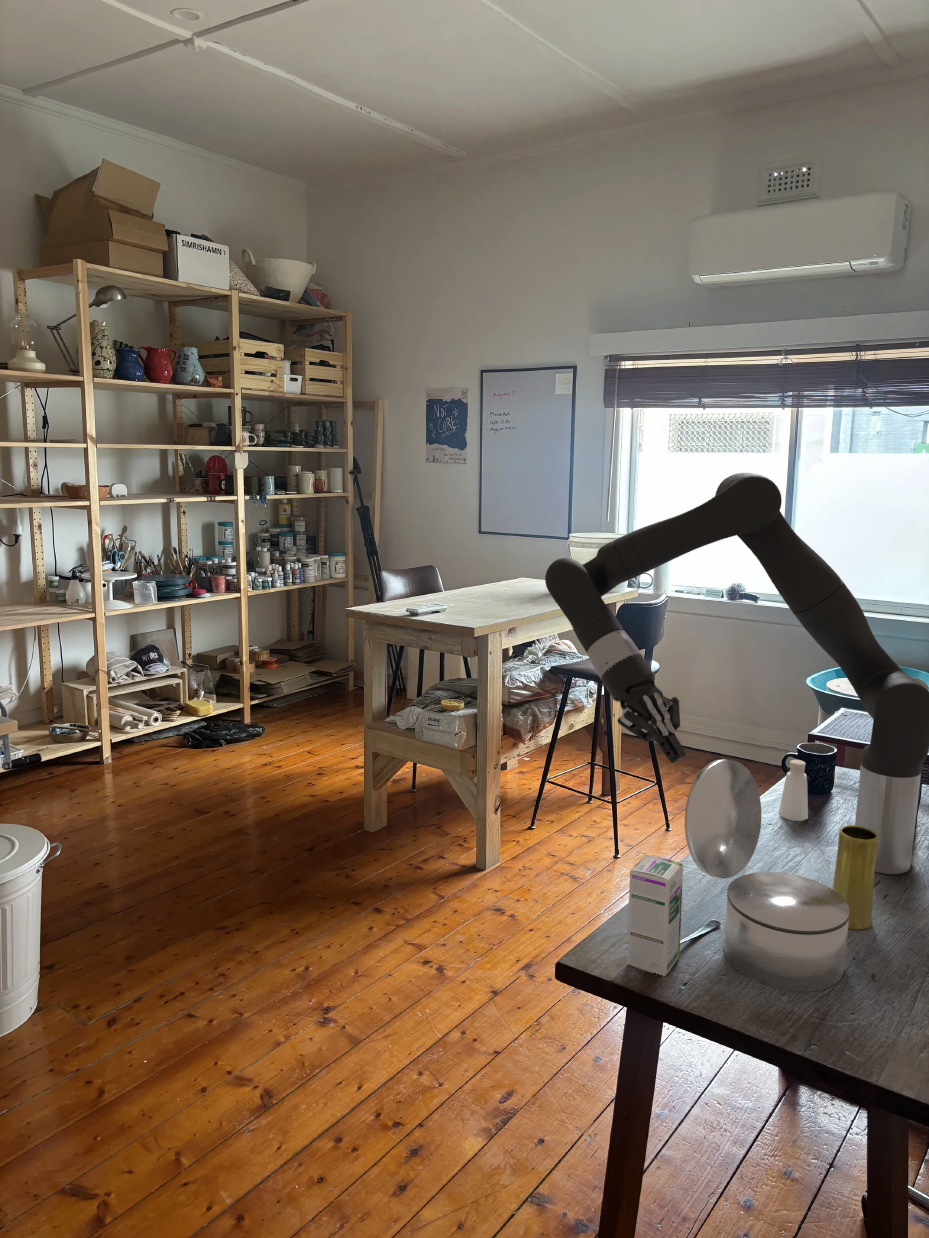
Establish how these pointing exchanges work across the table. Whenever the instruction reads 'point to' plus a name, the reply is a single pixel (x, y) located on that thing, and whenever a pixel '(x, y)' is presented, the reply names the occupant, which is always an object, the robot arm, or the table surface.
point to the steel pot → (786, 931)
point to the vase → (856, 873)
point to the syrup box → (654, 914)
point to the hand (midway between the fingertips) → (679, 759)
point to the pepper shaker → (795, 793)
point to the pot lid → (723, 818)
